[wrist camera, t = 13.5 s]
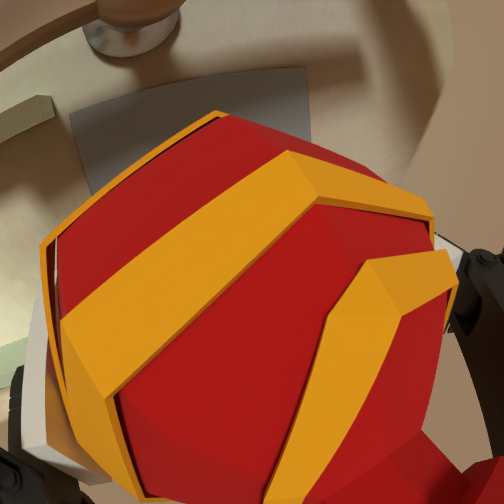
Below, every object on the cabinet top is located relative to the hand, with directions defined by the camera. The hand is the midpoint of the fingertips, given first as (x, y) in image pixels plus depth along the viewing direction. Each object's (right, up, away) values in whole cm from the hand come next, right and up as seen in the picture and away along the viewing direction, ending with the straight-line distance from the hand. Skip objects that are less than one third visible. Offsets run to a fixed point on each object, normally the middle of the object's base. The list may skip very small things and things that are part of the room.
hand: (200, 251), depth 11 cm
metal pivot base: (-4, +12, -1) cm, 13 cm away
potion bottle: (-1, +1, +2) cm, 3 cm away
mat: (0, +4, +6) cm, 8 cm away
